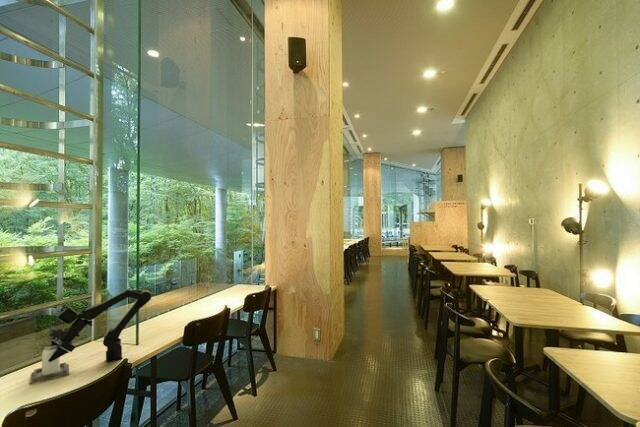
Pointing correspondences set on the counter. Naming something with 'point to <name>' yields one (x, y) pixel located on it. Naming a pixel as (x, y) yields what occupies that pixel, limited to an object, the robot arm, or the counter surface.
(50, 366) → the can
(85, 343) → the counter surface
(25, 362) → the counter surface
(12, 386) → the counter surface
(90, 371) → the counter surface
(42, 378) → the holder
